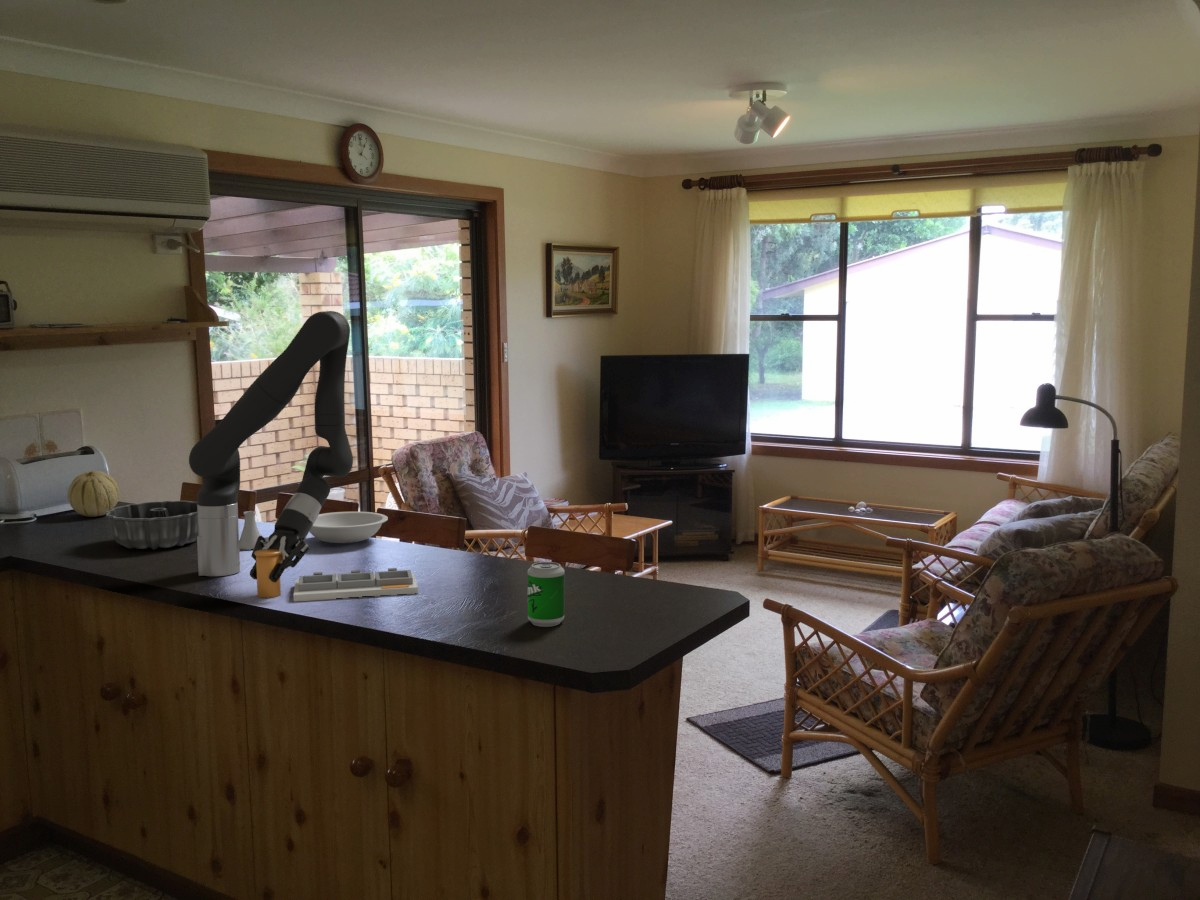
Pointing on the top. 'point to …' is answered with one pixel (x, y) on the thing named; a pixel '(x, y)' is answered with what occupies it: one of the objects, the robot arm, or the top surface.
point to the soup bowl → (346, 526)
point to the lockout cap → (267, 573)
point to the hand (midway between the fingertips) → (262, 578)
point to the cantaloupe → (93, 493)
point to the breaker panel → (354, 585)
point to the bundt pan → (154, 524)
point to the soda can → (546, 594)
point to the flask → (249, 532)
